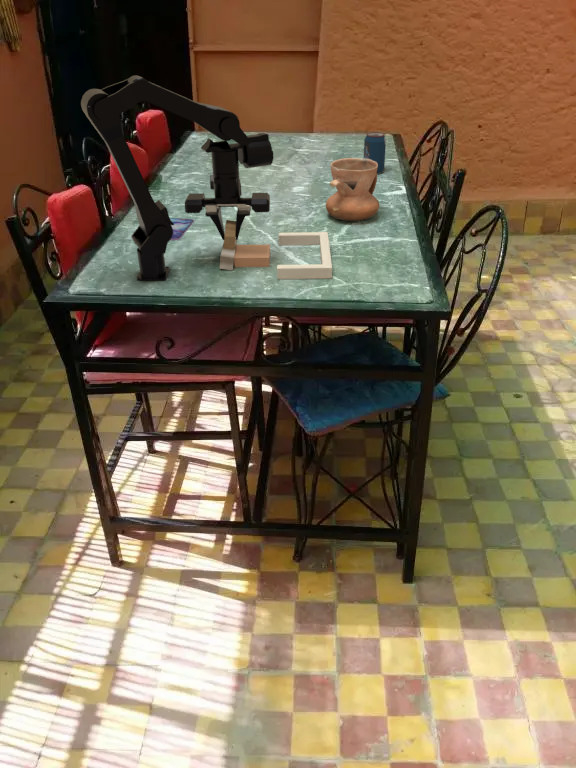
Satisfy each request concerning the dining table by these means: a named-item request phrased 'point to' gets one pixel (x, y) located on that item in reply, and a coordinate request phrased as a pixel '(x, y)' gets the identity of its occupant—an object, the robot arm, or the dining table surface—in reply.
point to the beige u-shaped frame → (307, 270)
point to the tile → (252, 256)
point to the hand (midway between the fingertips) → (230, 239)
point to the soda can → (375, 149)
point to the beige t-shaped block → (228, 246)
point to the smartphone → (180, 227)
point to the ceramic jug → (353, 189)
